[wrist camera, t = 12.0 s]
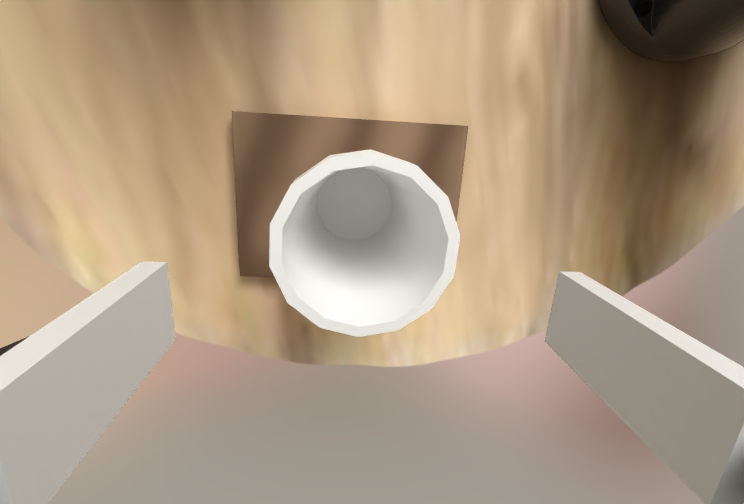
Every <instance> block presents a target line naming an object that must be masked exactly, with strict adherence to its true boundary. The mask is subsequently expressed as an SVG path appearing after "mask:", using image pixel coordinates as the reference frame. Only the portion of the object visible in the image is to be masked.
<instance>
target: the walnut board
mask: <svg viewBox="0 0 744 504" xmlns="http://www.w3.org/2000/svg"><path fill="white" fill-rule="evenodd" d="M232 124H233V145H234V166H235V186H236V207H237V227H238V248H239V268H240V276H261V277H274V275H273V273H272V271H271V269H270V267H269V249H270V223H271V221H272V219H273V217H274V215H275V213H276V211H277V210H278V208H279V206H280V204H281V202H282V200H283V198H284V196H285V195H286V193H287V191H288V189H289V187H290V185H291V184H292V183H293V182H294V180H295V179H296V178H298V177H299V176H300V175H302V174H303V173H305V172H306V171H308V170H309V169H310V168H312V167H313V166H315V165H316V164H318V163H319V162H321V161H322V160H323V159H325V158H326V157H328V156H329V155H334V154H341V153H348V152H355V151H362V150H369V149H371V150H374V151H377V152H380V153H383V154H386V155H389V156H392V157H395V158H398V159H401V160H404V161H407V162H410V163H412V164H414V165H417V166H418V167H419V168H420V169H421V170H422V171H423V172H424V173H425V174H426V175H427V176H428V177H429V178H430V179H431V180H432V181H433V182H434V183H435V184H436V185H437V186H438V187H439V188H440V189H441V190H442V191H443V192H444V193H445V194H446V195H447V196H448V198H449V201H450V204H451V207H452V211H453V214H454V217H455V220H456V221H457V213H458V205H459V197H460V189H461V181H462V173H463V165H464V157H465V149H466V141H467V133H468V126H459V125H443V124H427V123H411V122H395V121H379V120H362V119H346V118H330V117H314V116H298V115H282V114H266V113H250V112H234V111H232Z"/></svg>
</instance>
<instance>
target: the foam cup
mask: <svg viewBox="0 0 744 504" xmlns="http://www.w3.org/2000/svg"><path fill="white" fill-rule="evenodd" d="M460 237H461V236H460V233H459V230H458V227H457V224H456V220H455V217H454V214H453V211H452V207H451V204H450V201H449V198H448V196H447V195H446V194H445V193H444V192H443V191H442V190H441V189H440V188H439V187H438V186H437V185H436V184H435V183H434V182H433V181H432V180H431V179H430V178H429V177H428V176H427V175H426V174H425V173H424V172H423V171H422V170H421V169H420V168H419V167H418V166H417V165H414V164H412V163H410V162H407V161H404V160H401V159H398V158H395V157H392V156H389V155H386V154H383V153H380V152H377V151H374V150H371V149H369V150H362V151H355V152H348V153H341V154H334V155H329V156H328V157H326V158H325V159H323V160H322V161H321V162H319V163H318V164H316V165H315V166H313V167H312V168H310V169H309V170H308V171H306V172H305V173H303V174H302V175H300V176H299V177H298V178H296V179H295V180H294V182H293V183H292V184H291V185H290V187H289V189H288V191H287V193H286V195H285V196H284V198H283V200H282V202H281V204H280V206H279V208H278V210H277V211H276V213H275V215H274V217H273V219H272V221H271V223H270V249H269V267H270V269H271V271H272V273H273V275H274V277H275V279H276V281H277V283H278V285H279V287H280V289H281V291H282V293H283V295H284V297H285V299H286V301H287V303H288V304H290V305H291V306H292V307H293V308H295V309H296V310H297V311H299V312H300V313H301V314H302V315H304V316H305V317H306V318H308V319H309V320H310V321H311V322H313V323H314V324H315V325H317V326H318V327H319V328H323V329H327V330H331V331H335V332H339V333H344V334H348V335H352V336H356V337H362V336H368V335H374V334H380V333H386V332H392V331H398V330H399V329H401V328H403V327H404V326H406V325H407V324H409V323H411V322H412V321H414V320H415V319H417V318H418V317H420V316H422V315H423V314H425V313H426V312H428V311H430V310H431V309H432V308H433V306H434V305H435V303H436V302H437V301H438V299H439V298H440V296H441V295H442V293H443V292H444V290H445V289H446V287H447V286H448V284H449V283H450V281H451V280H452V279H453V277H454V273H455V267H456V261H457V255H458V249H459V243H460Z"/></svg>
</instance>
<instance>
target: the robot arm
mask: <svg viewBox="0 0 744 504" xmlns="http://www.w3.org/2000/svg"><path fill="white" fill-rule="evenodd" d="M599 3H600V6H601V9H602V12H603V14H604V17H605V19H606V21H607V23H608V25H609V26H610V28H611V29H612V31H613V32H614V34H615V35H616V36H617V37H618V39H619V40H620V41H621V42H622V43H623V44H624V45H626V46H627V47H628V48H629V49H631V50H632V51H634V52H635V53H637V54H639V55H641V56H644V57H646V58H649V59H653V60H657V61H668V62H671V61H682V60H687V59H692V58H697V57H702V56H706V55H710V54H714V53H717V52H720V51H722V50H725V49H727V48H730V47H732V46H734V45H736V44H738V43H740V42H742V41H743V40H744V0H599ZM174 341H175V330H174V321H173V311H172V302H171V293H170V284H169V274H168V265H167V262H140V263H139V264H137V265H136V266H134V267H133V268H131V269H130V270H128V271H127V272H125V273H124V274H122V275H121V276H119V277H118V278H116V279H115V280H113V281H112V282H110V283H109V284H107V285H106V286H104V287H103V288H101V289H100V290H98V291H97V292H95V293H94V294H92V295H91V296H89V297H88V298H86V299H85V300H83V301H82V302H80V303H79V304H78V305H76V306H74V307H73V308H72V309H70V310H68V311H67V312H65V313H64V314H62V315H61V316H59V317H58V318H56V319H55V320H53V321H52V322H50V323H49V324H48V325H46V326H44V327H43V328H41V329H40V330H39V331H37V332H36V333H34V334H32V335H31V336H29V337H27V338H24V339H22V340H20V341H17V342H15V343H12V344H10V345H8V346H5V347H3V348H1V349H0V504H48V503H49V501H50V500H51V499H52V498H53V496H54V495H55V494H56V492H57V491H58V490H59V488H60V487H61V486H62V485H63V483H64V482H65V481H66V480H67V478H68V477H69V476H70V474H71V473H72V472H73V471H74V469H75V468H76V467H77V465H78V464H79V463H80V462H81V460H82V459H83V458H84V456H85V455H86V454H87V453H88V451H89V450H90V449H91V447H92V446H93V445H94V443H95V442H96V441H97V440H98V438H99V437H100V436H101V435H102V433H103V432H104V431H105V429H106V428H107V427H108V426H109V424H110V423H111V422H112V420H113V419H114V418H115V416H116V415H117V414H118V413H119V411H120V410H121V409H122V407H123V406H124V405H125V404H126V402H127V401H128V400H129V399H130V397H131V396H132V395H133V393H134V392H135V391H136V390H137V388H138V387H139V386H140V384H141V383H142V382H143V380H144V379H145V378H146V376H147V375H148V374H149V373H150V371H151V370H152V369H153V368H154V366H155V365H156V364H157V362H158V361H159V360H160V359H161V357H162V356H163V355H164V353H165V352H166V351H167V350H168V348H169V347H170V346H171V344H172V343H173V342H174ZM545 342H546V343H547V344H548V345H549V346H550V347H551V348H552V349H553V350H554V351H555V352H556V353H557V354H558V355H559V356H560V357H561V358H562V359H563V360H564V361H565V362H566V363H567V364H568V365H569V366H570V367H571V368H572V369H573V370H574V371H575V372H576V374H578V376H580V378H581V379H582V380H583V381H584V382H585V383H587V385H588V386H589V387H590V388H591V389H592V390H593V391H594V392H595V393H596V394H597V395H598V396H599V397H600V398H601V399H602V400H603V401H604V402H605V403H606V404H607V405H608V406H609V407H610V408H611V409H612V410H613V411H614V412H615V413H616V414H617V415H618V416H619V417H620V418H621V419H622V420H623V421H624V422H625V423H626V424H627V425H628V426H629V427H630V428H631V429H632V430H633V431H634V432H635V433H636V434H637V435H638V436H639V437H640V438H641V440H642V441H643V442H645V444H646V445H648V447H649V448H650V449H651V450H652V451H653V452H654V453H655V454H656V455H657V456H658V457H659V458H660V459H661V460H662V461H663V462H664V463H665V464H666V465H667V466H668V467H669V468H670V469H671V470H672V471H673V472H674V473H675V474H676V475H677V476H678V477H679V478H680V479H681V480H682V481H683V482H684V483H685V484H686V485H687V486H688V487H689V488H690V489H691V490H692V491H693V492H694V493H695V494H696V495H697V496H698V497H699V498H700V499H701V500H702V501H703V502H704V503H705V504H743V503H744V367H742V366H741V365H739V364H737V363H736V362H734V361H732V360H730V359H729V358H727V357H725V356H724V355H722V354H720V353H718V352H717V351H715V350H713V349H712V348H710V347H708V346H706V345H705V344H703V343H701V342H699V341H698V340H696V339H694V338H693V337H691V336H689V335H687V334H686V333H684V332H682V331H681V330H679V329H677V328H675V327H674V326H672V325H670V324H669V323H667V322H665V321H663V320H662V319H660V318H658V317H657V316H655V315H653V314H651V313H650V312H648V311H646V310H644V309H643V308H641V307H639V306H638V305H636V304H634V303H632V302H631V301H629V300H627V299H626V298H624V297H622V296H620V295H619V294H617V293H615V292H614V291H612V290H610V289H608V288H607V287H605V286H603V285H602V284H600V283H598V282H596V281H595V280H593V279H591V278H590V277H588V276H586V275H584V274H583V273H581V272H560V271H559V276H558V281H557V285H556V290H555V295H554V300H553V304H552V309H551V314H550V318H549V323H548V328H547V332H546V337H545Z"/></svg>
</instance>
